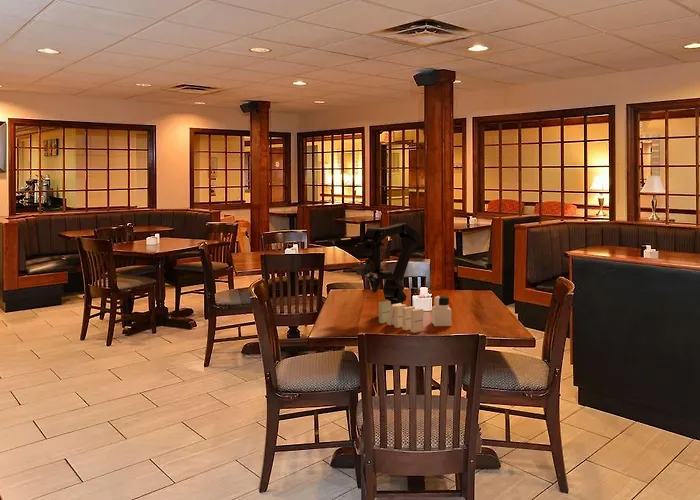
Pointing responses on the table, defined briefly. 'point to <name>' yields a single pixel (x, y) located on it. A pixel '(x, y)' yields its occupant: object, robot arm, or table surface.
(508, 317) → the table surface
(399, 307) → the domino
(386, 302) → the sage domino
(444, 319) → the medicine bottle
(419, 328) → the domino
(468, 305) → the table surface
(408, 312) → the domino
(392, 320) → the domino
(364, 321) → the table surface
